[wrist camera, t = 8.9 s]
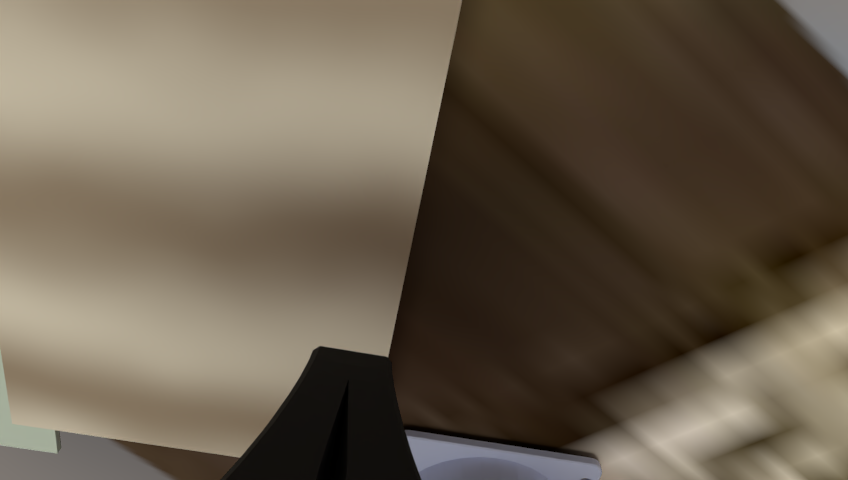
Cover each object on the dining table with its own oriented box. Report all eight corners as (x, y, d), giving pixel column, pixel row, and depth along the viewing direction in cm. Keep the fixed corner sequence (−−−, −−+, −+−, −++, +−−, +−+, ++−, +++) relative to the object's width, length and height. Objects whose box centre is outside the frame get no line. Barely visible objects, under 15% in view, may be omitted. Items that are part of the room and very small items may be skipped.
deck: (372, 398, 26) (363, 475, 22) (64, 351, 25) (12, 424, 22) (467, -70, 17) (472, -49, 14) (14, -164, 17) (-80, -162, 14)
